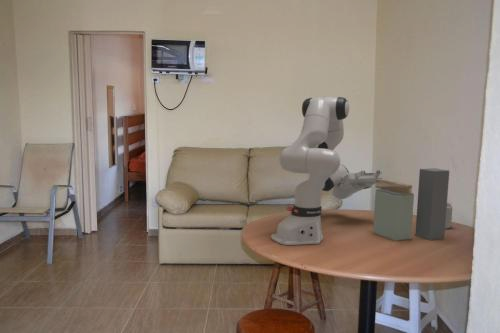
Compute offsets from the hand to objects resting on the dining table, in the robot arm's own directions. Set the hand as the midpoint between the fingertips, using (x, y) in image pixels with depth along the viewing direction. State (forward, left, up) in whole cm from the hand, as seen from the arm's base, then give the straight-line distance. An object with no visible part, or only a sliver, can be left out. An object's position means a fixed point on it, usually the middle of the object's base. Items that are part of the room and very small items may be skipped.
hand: (372, 171), depth 209 cm
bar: (-1, -15, -7) cm, 16 cm away
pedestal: (+14, -23, -27) cm, 38 cm away
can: (+33, -13, -27) cm, 45 cm away
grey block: (-1, -16, -27) cm, 31 cm away
